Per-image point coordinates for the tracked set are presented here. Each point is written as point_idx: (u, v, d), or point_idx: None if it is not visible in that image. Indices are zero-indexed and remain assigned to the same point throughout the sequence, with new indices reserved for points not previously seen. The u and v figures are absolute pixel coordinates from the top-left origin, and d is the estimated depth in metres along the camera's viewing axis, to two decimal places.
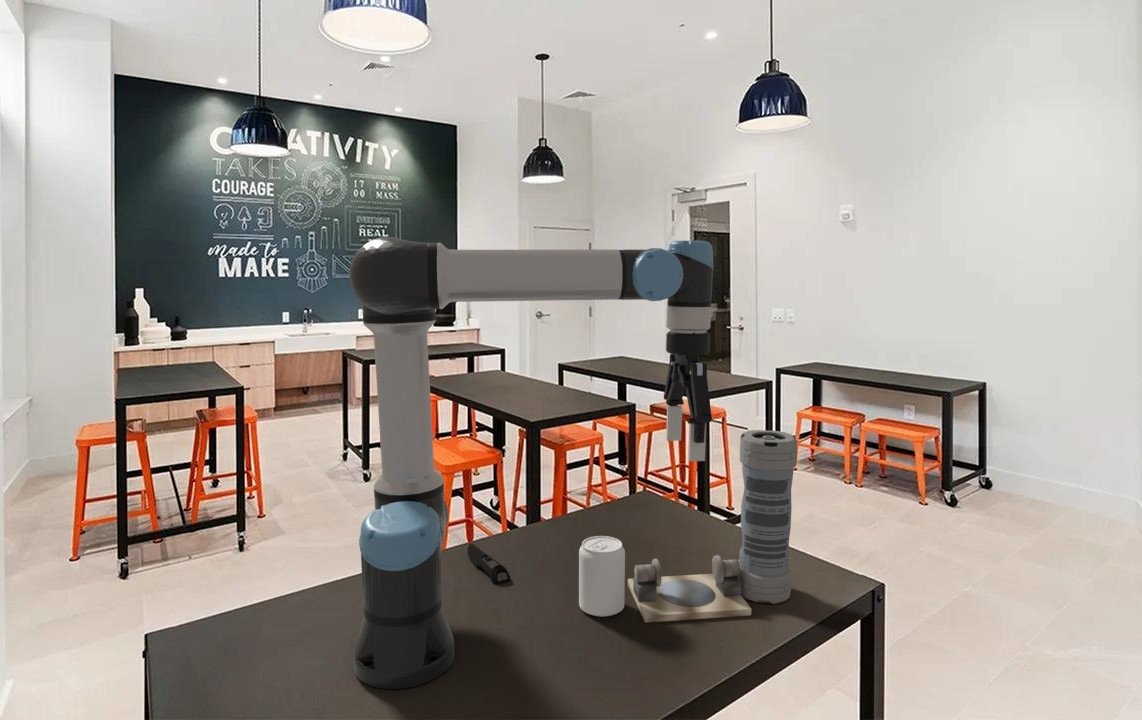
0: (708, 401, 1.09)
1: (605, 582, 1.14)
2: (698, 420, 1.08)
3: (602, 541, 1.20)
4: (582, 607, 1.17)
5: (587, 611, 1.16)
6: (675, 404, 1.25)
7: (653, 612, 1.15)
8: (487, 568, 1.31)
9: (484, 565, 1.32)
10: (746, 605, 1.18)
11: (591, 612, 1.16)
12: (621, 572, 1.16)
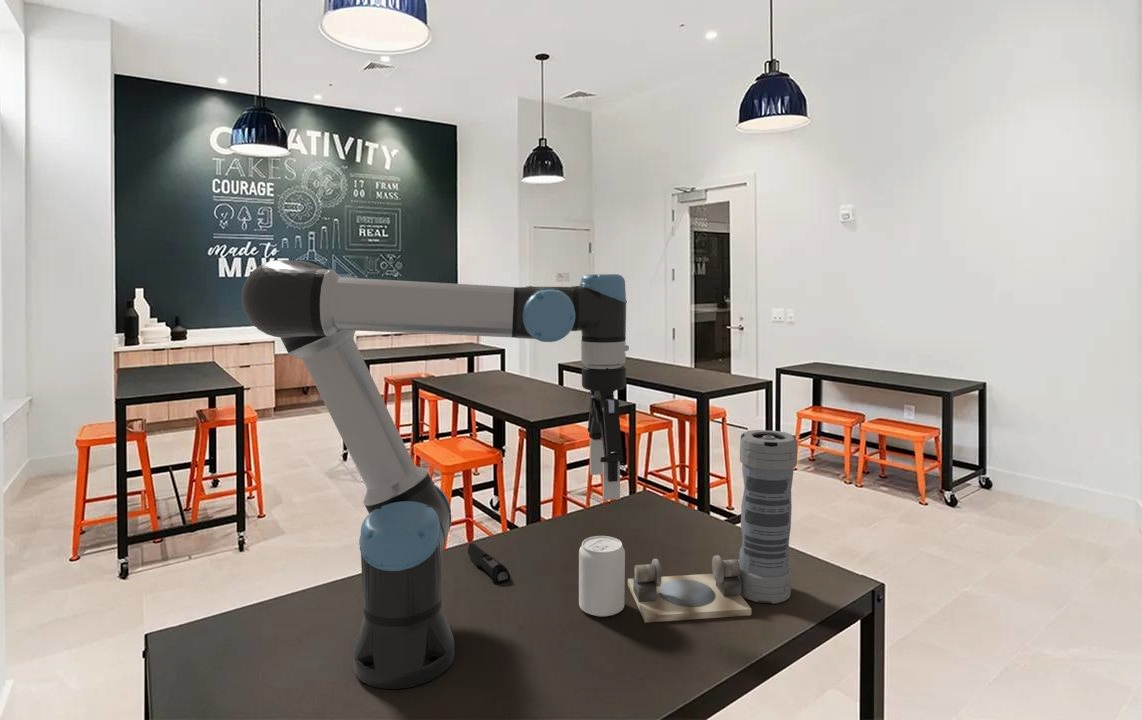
0: (619, 439, 1.06)
1: (605, 582, 1.14)
2: (609, 459, 1.05)
3: (602, 541, 1.20)
4: (582, 607, 1.17)
5: (587, 611, 1.16)
6: (598, 437, 1.22)
7: (653, 612, 1.15)
8: (487, 568, 1.31)
9: (484, 565, 1.32)
10: (746, 605, 1.18)
11: (591, 612, 1.16)
12: (620, 572, 1.16)
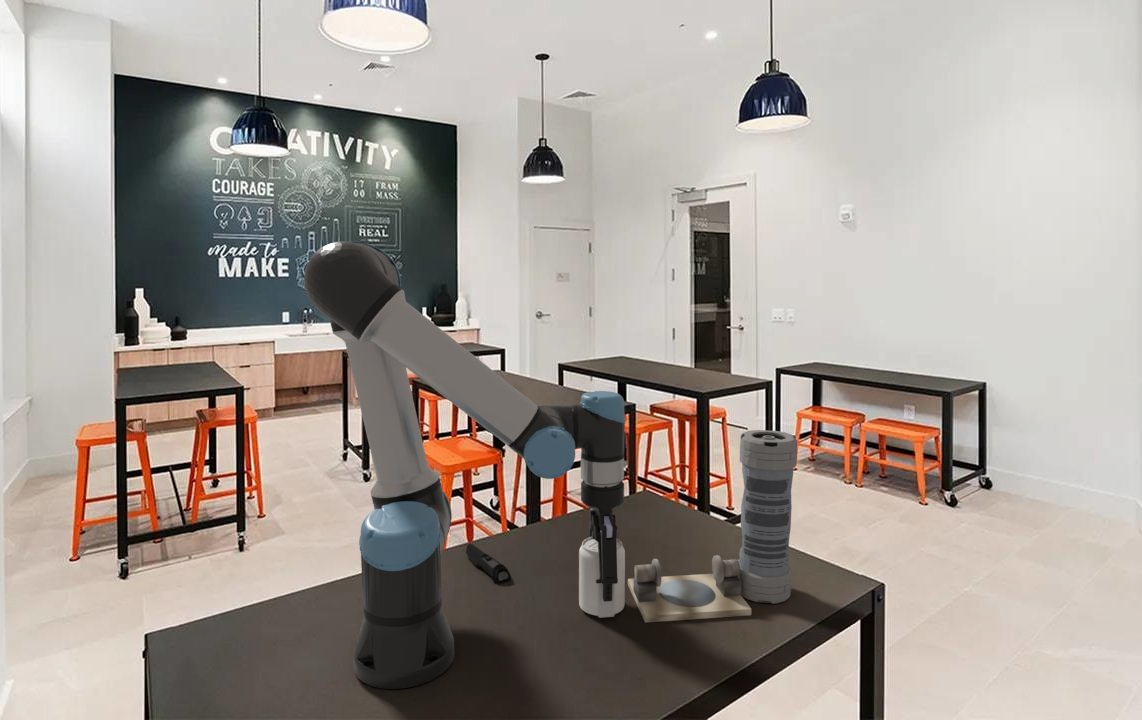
0: (615, 564, 1.11)
1: None
2: (604, 583, 1.11)
3: None
4: (582, 607, 1.17)
5: (587, 611, 1.16)
6: None
7: (653, 612, 1.15)
8: (488, 568, 1.31)
9: (484, 565, 1.32)
10: (746, 605, 1.18)
11: (591, 612, 1.16)
12: (621, 572, 1.16)
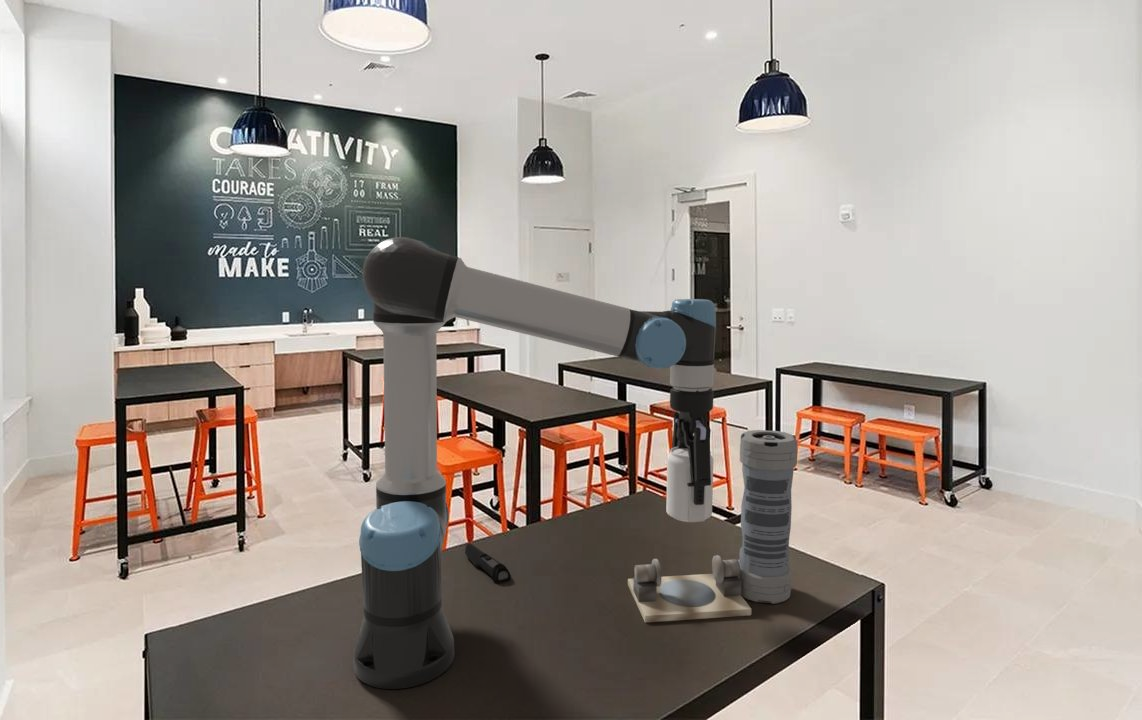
0: (709, 466, 1.12)
1: None
2: (697, 485, 1.12)
3: None
4: (671, 513, 1.18)
5: (677, 517, 1.17)
6: None
7: (653, 612, 1.15)
8: (487, 567, 1.31)
9: (484, 564, 1.32)
10: (746, 605, 1.18)
11: (681, 517, 1.16)
12: None
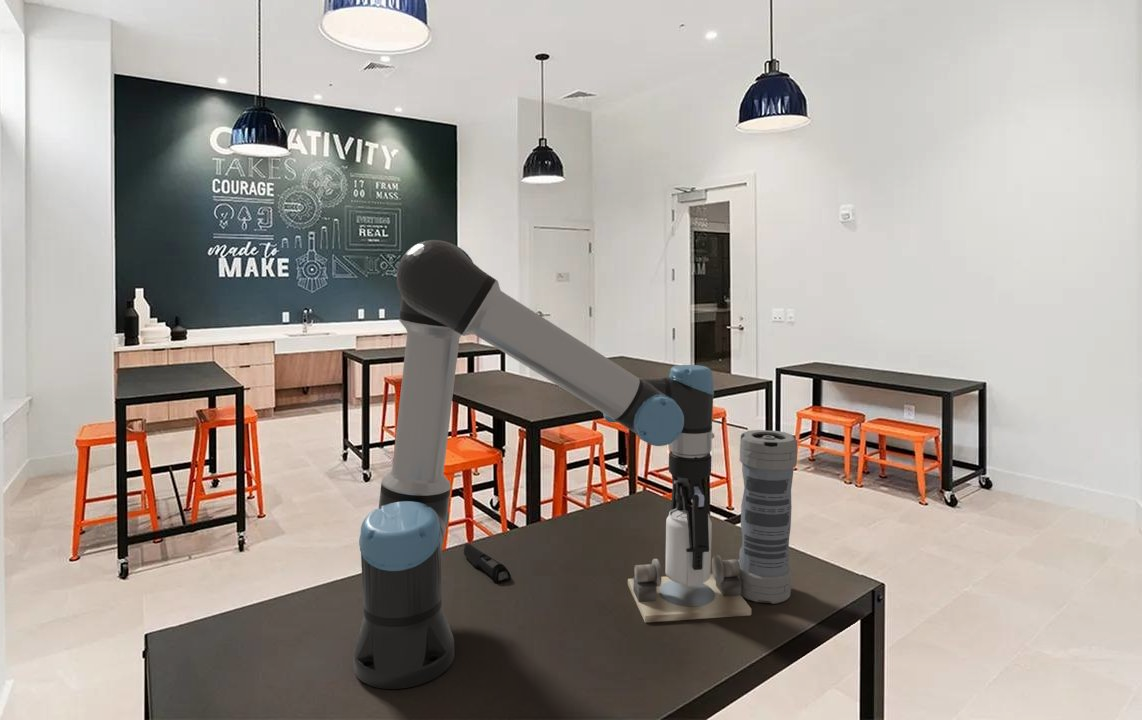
0: (707, 533, 1.13)
1: None
2: (696, 552, 1.13)
3: None
4: (670, 576, 1.20)
5: (676, 580, 1.19)
6: None
7: (653, 612, 1.15)
8: (487, 567, 1.31)
9: (484, 565, 1.32)
10: (746, 605, 1.18)
11: (680, 581, 1.18)
12: (709, 541, 1.18)
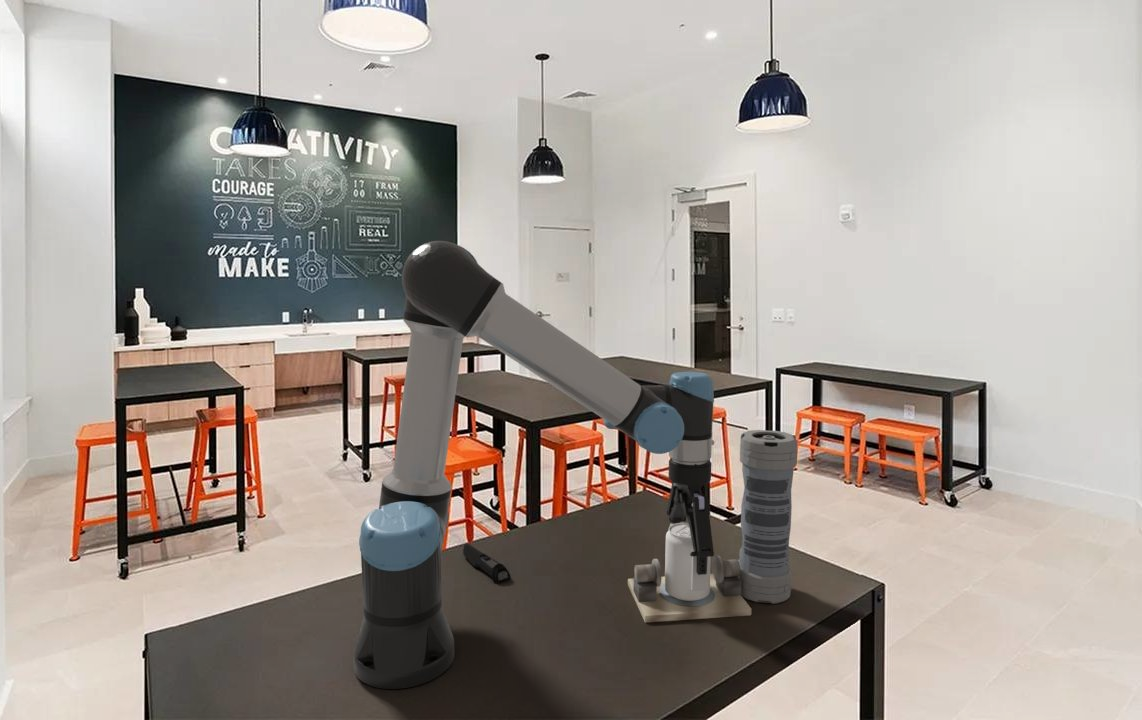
0: (710, 536, 1.12)
1: None
2: (700, 555, 1.11)
3: (687, 527, 1.22)
4: (669, 592, 1.20)
5: (675, 595, 1.19)
6: (678, 522, 1.28)
7: (653, 612, 1.15)
8: (487, 567, 1.31)
9: (483, 564, 1.32)
10: (746, 605, 1.18)
11: (679, 596, 1.18)
12: (708, 557, 1.18)
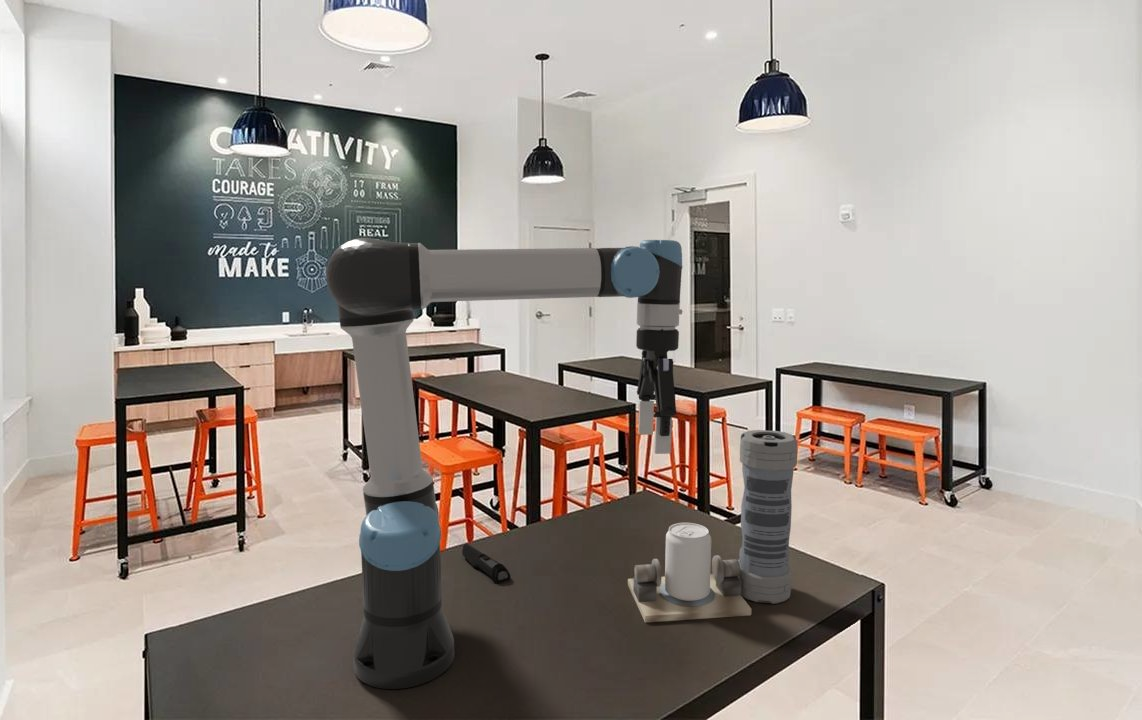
0: (673, 395, 1.12)
1: (694, 567, 1.17)
2: (663, 413, 1.11)
3: (687, 527, 1.22)
4: (669, 592, 1.20)
5: (675, 595, 1.19)
6: (647, 399, 1.28)
7: (653, 612, 1.15)
8: (486, 567, 1.31)
9: (483, 565, 1.32)
10: (746, 605, 1.18)
11: (679, 596, 1.18)
12: (708, 557, 1.18)
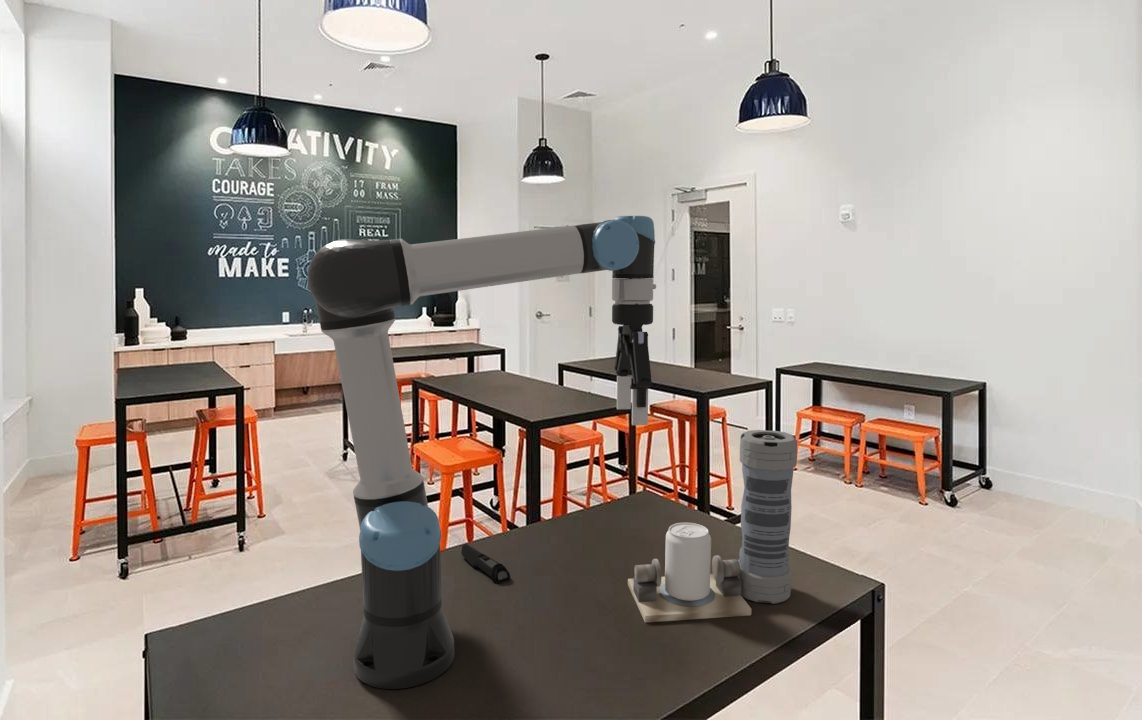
0: (648, 367, 1.15)
1: (694, 567, 1.17)
2: (639, 385, 1.14)
3: (687, 527, 1.22)
4: (669, 592, 1.20)
5: (675, 595, 1.19)
6: (624, 374, 1.31)
7: (653, 612, 1.15)
8: (486, 567, 1.31)
9: (482, 564, 1.32)
10: (746, 605, 1.18)
11: (679, 596, 1.18)
12: (708, 557, 1.18)
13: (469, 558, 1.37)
